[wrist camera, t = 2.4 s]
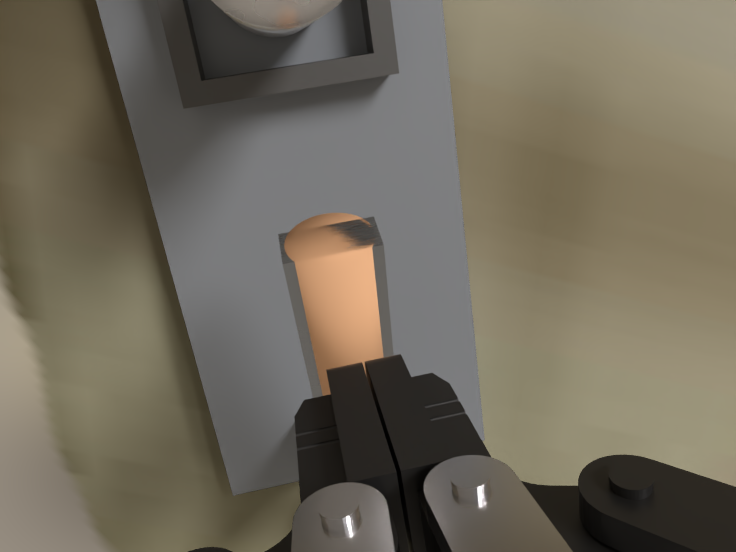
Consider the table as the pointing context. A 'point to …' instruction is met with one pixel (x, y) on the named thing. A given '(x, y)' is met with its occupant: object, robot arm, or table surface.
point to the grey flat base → (295, 193)
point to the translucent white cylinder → (275, 14)
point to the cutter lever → (337, 293)
